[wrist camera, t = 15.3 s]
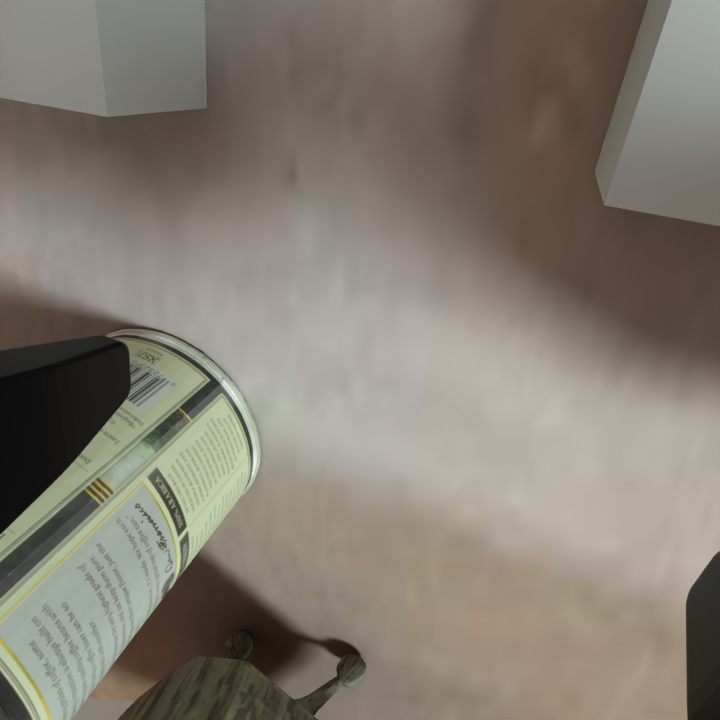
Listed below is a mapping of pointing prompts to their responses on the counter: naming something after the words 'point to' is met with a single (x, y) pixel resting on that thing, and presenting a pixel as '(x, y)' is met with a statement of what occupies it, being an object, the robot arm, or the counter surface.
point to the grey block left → (104, 55)
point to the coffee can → (119, 526)
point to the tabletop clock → (235, 689)
